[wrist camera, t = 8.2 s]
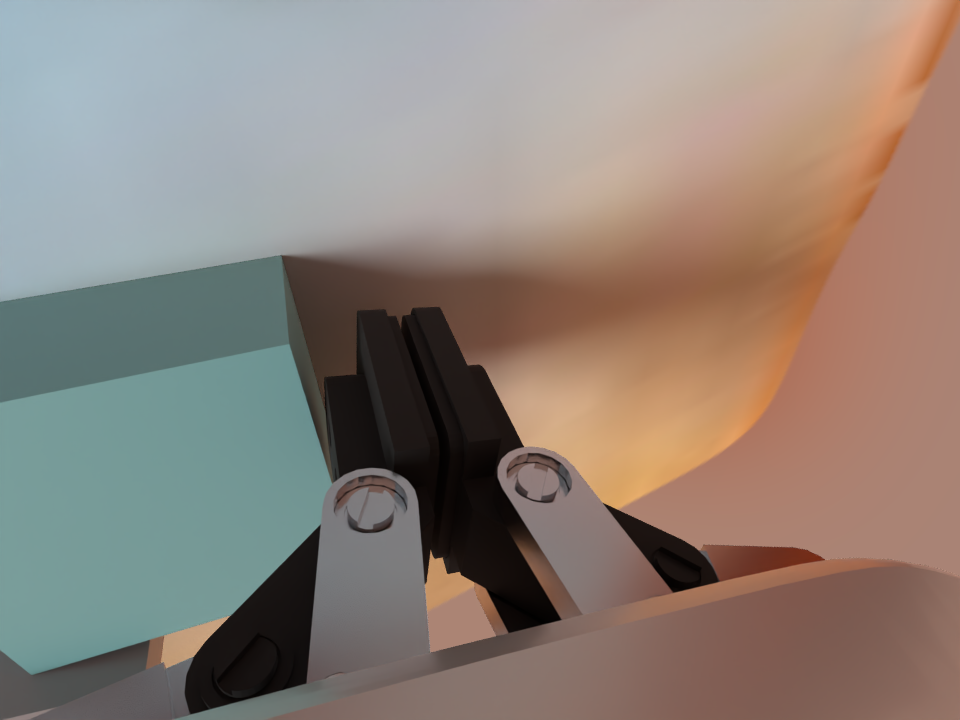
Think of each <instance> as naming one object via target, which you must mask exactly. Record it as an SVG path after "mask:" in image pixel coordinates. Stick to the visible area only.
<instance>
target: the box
mask: <svg viewBox="0 0 960 720" xmlns="http://www.w3.org/2000/svg"><path fill="white" fill-rule="evenodd" d="M163 641H164V636H160V637H157V638H154V639H150V640H147V641H144V642H141V643H137V644H134V645H131V646H127V647H124V648H121V649H117V650H114V651H111V652H107V653H104V654H101V655H97V656H94V657H91V658H87V659H84V660H81V661H77V662H74V663H71V664H67V665H64V666H61V667H57V668H54V669H51V670H48V671H44V672H41V673H38V674H34V675H31V674H29V673H28V672H27V671H26V670H24V669H23V668H22V667H21V666H19V665H18V664H17V663H16V662H14V661H13V660H12V659H11V658H9V657H8V656H7V655H6V654H4V653H3V652H2V651H1V650H0V720H29V719H31V718H33V717H36V716H38V715H40V714H43V713H45V712H47V711H50V710H52V709H55V708H57V707H59V706H62V705H64V704H66V703H69V702H71V701H73V700H76V699H78V698H80V697H83V696H85V695H88V694H90V693H92V692H95V691H97V690H99V689H102V688H104V687H106V686H109V685H111V684H113V683H116V682H118V681H121V680H123V679H125V678H128V677H130V676H132V675H135V674H137V673H139V672H142V671H144V670H146V669H149V668H151V667H153V666H156V665H158V664H161V657H162V649H163Z"/></svg>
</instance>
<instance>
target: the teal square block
mask: <svg viewBox="0 0 960 720" xmlns="http://www.w3.org/2000/svg"><path fill="white" fill-rule="evenodd" d="M332 484H333V476H332V469H331V461H330V453H329V445H328V436H327V424H326V412H325V408H324V405H323V401H322V398H321V394H320V390H319V387H318V383H317V380H316V376H315V373H314V369H313V366H312V362H311V359H310V355H309V352H308V348H307V344H306V341H305V337H304V334H303V330H302V327H301V323H300V320H299V316H298V313H297V309H296V305H295V302H294V298H293V295H292V291H291V288H290V284H289V281H288V277H287V274H286V270H285V267H284V263H283V259H282V256H281V255H280V256H274V257H268V258H262V259H256V260H250V261H244V262H238V263H232V264H226V265H220V266H214V267H208V268H202V269H196V270H190V271H184V272H178V273H172V274H166V275H160V276H154V277H148V278H142V279H136V280H130V281H124V282H118V283H112V284H106V285H100V286H94V287H88V288H82V289H76V290H70V291H64V292H58V293H52V294H46V295H40V296H34V297H28V298H22V299H16V300H10V301H4V302H0V650H1V651H2V652H3V653H4V654H6V655H7V656H8V657H9V658H11V659H12V660H13V661H14V662H16V663H17V664H18V665H19V666H21V667H22V668H23V669H24V670H26V671H27V672H28V673H29V674H31V675H34V674H38V673H41V672H44V671H48V670H51V669H54V668H57V667H61V666H64V665H67V664H71V663H74V662H77V661H81V660H84V659H87V658H91V657H94V656H97V655H101V654H104V653H107V652H111V651H114V650H117V649H121V648H124V647H127V646H131V645H134V644H137V643H141V642H144V641H147V640H150V639H154V638H157V637H160V636H164V635H167V634H170V633H174V632H177V631H180V630H184V629H187V628H190V627H194V626H197V625H200V624H204V623H207V622H210V621H214V620H217V619H220V618H224V617H227V616H230V615H232V614H233V613H234V612H235V611H236V610H237V609H238V608H239V607H240V606H241V605H242V604H243V603H244V602H245V601H246V600H247V599H248V598H249V597H250V596H251V595H252V594H253V593H254V592H255V591H256V590H257V589H258V587H259V586H260V585H261V584H262V583H263V582H264V581H265V580H266V579H267V578H268V577H269V576H270V575H271V574H272V573H273V572H274V571H275V570H276V569H277V568H278V567H279V566H280V565H281V564H282V563H283V562H284V561H285V560H286V559H287V558H288V557H289V556H290V555H291V554H292V553H293V552H294V551H295V550H296V549H297V548H298V547H299V546H300V545H301V544H302V543H303V542H304V541H305V540H306V539H307V538H308V537H309V536H310V535H311V534H312V532H313V531H314V530H315V529H316V528H317V527H318V526H319V525H320V524H321V518H322V507H323V502H324V498H325V495H326V492H327V491H328V490H329V488H330V487H331V486H332Z"/></svg>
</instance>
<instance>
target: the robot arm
mask: <svg viewBox="0 0 960 720" xmlns="http://www.w3.org/2000/svg"><path fill="white" fill-rule="evenodd" d="M324 385H325V409H326V424H327V436H328V445H329V453H330V461H331V469H332V476H333V484H332V486H331V487H330V488H329V490H328V491H327V492H326V495H325V498H324V502H323V507H322V518H321V524H320V525H319V526H318V527H317V528H316V529H315V530H314V531H313V532H312V534H311V535H310V536H309V537H308V538H307V539H306V540H305V541H304V542H303V543H302V544H301V545H300V546H299V547H298V548H297V549H296V550H295V551H294V552H293V553H292V554H291V555H290V556H289V557H288V558H287V559H286V560H285V561H284V562H283V563H282V564H281V565H280V566H279V567H278V568H277V569H276V570H275V571H274V572H273V573H272V574H271V575H270V576H269V577H268V578H267V579H266V580H265V581H264V582H263V583H262V584H261V585H260V586H259V587H258V589H257V590H256V591H255V592H254V593H253V594H252V595H251V596H250V597H249V598H248V599H247V600H246V601H245V602H244V603H243V604H242V605H241V606H240V607H239V608H238V609H237V610H236V611H235V612H234V613H233V614H232V615H231V616H230V617H229V618H228V619H227V620H226V621H225V622H224V623H223V624H222V625H221V626H220V627H219V628H218V629H217V630H216V631H215V632H214V633H213V634H212V635H211V636H210V637H209V638H208V639H207V640H206V642H205V643H204V644H203V646H202V647H201V648H200V650H199V651H198V652H197V653H196V655H195V656H194V657H192V658H189V659H187V660H185V661H183V662H180V663H178V664H176V665H173V666H171V667H169V668H166V667H165V664H164V662H163V663H161V664H158V665H156V666H153V667H151V668H149V669H146V670H144V671H142V672H139V673H137V674H135V675H132V676H130V677H128V678H125V679H123V680H121V681H118V682H116V683H113V684H111V685H109V686H106V687H104V688H102V689H99V690H97V691H95V692H92V693H90V694H88V695H85V696H83V697H80V698H78V699H76V700H73V701H71V702H69V703H66V704H64V705H62V706H59V707H57V708H55V709H52V710H50V711H47V712H45V713H43V714H40V715H38V716H36V717H33V718H31V719H29V720H960V576H958V575H955V574H953V573H950V572H947V571H944V570H941V569H938V568H934V567H930V566H926V565H921V564H915V563H909V562H903V561H898V560H892V559H873V558H845V559H844V558H843V559H830V560H825V559H823V558H822V557H821V556H819V555H817V554H814V553H812V552H810V551H808V550H805V549H799V548H793V547H762V546H729V545H703V547H702V548H701V550H697V549H696V548H695V547H693V546H692V545H690V544H688V543H687V542H685V541H683V540H681V539H679V538H677V537H675V536H673V535H671V534H668V533H666V532H664V531H662V530H660V529H658V528H656V527H653V526H651V525H649V524H647V523H645V522H643V521H641V520H638V519H636V518H634V517H632V516H630V515H628V514H625V513H623V512H621V511H619V510H617V509H615V508H613V507H610V506H608V505H606V504H604V503H602V502H601V500H600V499H599V498H598V497H597V495H596V494H595V493H594V492H593V490H592V489H591V488H590V486H589V485H588V484H587V483H586V481H585V480H584V479H583V478H582V476H581V475H580V474H579V472H578V471H577V470H576V469H575V467H574V466H573V465H572V464H571V463H570V462H569V461H568V460H567V459H566V458H564V457H562V456H561V455H559V454H557V453H556V452H553V451H550V450H547V449H544V448H539V447H524V446H523V444H522V442H521V440H520V438H519V436H518V434H517V432H516V430H515V428H514V426H513V424H512V422H511V420H510V418H509V416H508V414H507V412H506V410H505V408H504V407H503V405H502V403H501V401H500V399H499V397H498V395H497V393H496V391H495V389H494V387H493V385H492V383H491V381H490V379H489V377H488V375H487V373H486V371H485V369H484V368H483V367H482V366H481V365H468V366H467V364H466V361H465V359H464V357H463V355H462V353H461V351H460V349H459V347H458V344H457V342H456V340H455V338H454V336H453V334H452V332H451V330H450V328H449V325H448V323H447V321H446V319H445V317H444V315H443V313H442V311H441V309H440V307H426V308H413V309H412V311H411V315H403V317H402V325H401V328H400V326H399V323H398V320H397V317H396V316H387V313H386V310H384V309H382V310H360V311H357V375H345V376H333V377H325V380H324ZM430 550H431V552H432V555H433V557H434V558H435V559H437V558H442V557H443V560H444V564H445V567H446V571H447V574H450V573H455V572H460V573H461V575H462V576H464V577H466V578H468V579H469V580H471V581H473V582H474V589H475V592H476V595H477V598H478V600H479V602H480V604H481V606H482V608H483V610H484V612H485V614H486V616H487V618H488V620H489V622H490V624H491V626H492V628H493V630H494V632H495V634H496V637H492V638H488V639H483V640H479V641H475V642H471V643H467V644H463V645H459V646H455V647H451V648H447V649H443V650H439V651H436V652H431V653H430V644H429V631H428V619H427V606H426V594H425V583H426V582H427V574H428V566H429V558H430Z"/></svg>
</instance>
